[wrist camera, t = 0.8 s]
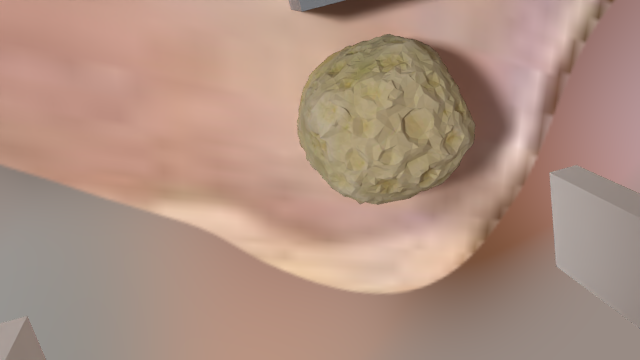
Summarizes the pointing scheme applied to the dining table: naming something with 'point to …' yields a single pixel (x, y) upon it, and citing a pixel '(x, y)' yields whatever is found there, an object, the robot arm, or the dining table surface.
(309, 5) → the keypad
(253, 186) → the dining table surface
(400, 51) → the decorative object
